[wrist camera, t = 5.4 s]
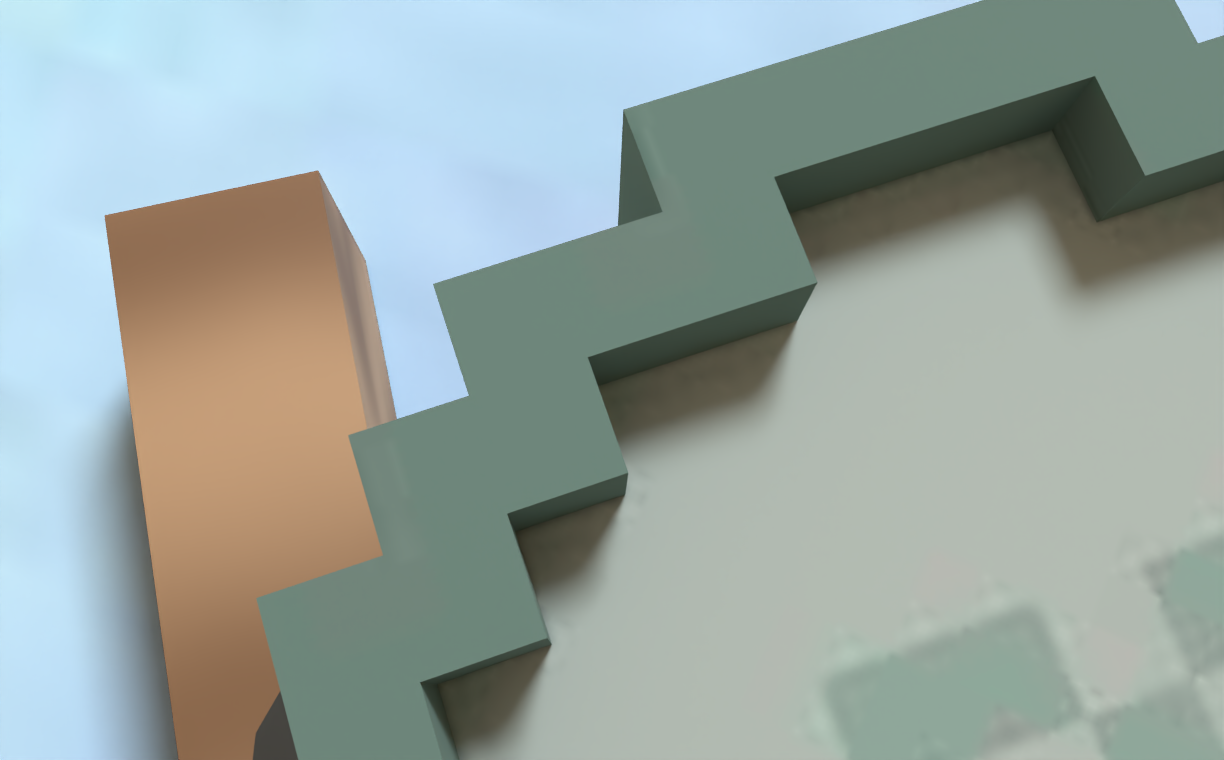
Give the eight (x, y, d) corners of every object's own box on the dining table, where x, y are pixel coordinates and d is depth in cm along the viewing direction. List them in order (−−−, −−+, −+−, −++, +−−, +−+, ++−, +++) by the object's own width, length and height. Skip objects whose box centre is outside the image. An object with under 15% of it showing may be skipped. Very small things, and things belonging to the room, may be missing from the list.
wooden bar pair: (188, 299, 20) (104, 215, 16) (980, 127, 21) (1054, 14, 17) (332, 1235, 16) (263, 1378, 13) (1280, 972, 17) (1448, 1039, 14)
